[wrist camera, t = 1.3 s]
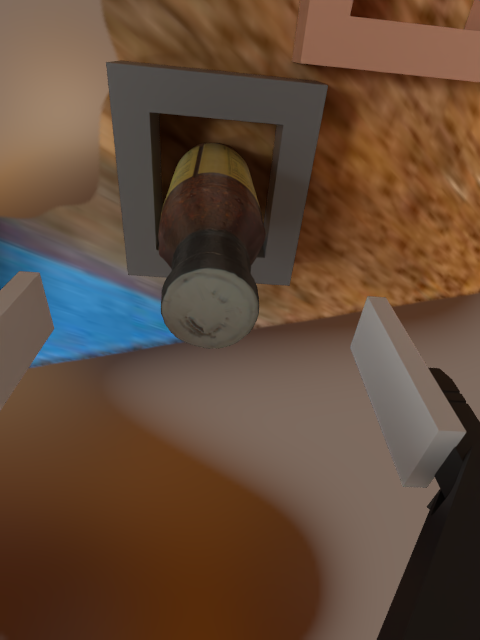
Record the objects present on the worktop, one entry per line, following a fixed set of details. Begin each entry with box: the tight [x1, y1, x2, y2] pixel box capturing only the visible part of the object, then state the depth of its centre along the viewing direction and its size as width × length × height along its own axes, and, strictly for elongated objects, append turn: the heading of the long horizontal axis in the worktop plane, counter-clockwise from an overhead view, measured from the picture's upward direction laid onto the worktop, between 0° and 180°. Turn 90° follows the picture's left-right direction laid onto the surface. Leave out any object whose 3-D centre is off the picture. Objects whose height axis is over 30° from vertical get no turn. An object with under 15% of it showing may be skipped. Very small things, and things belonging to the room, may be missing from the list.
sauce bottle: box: [158, 143, 266, 349], centre depth 23 cm, size 6×6×20 cm
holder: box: [106, 61, 328, 286], centre depth 29 cm, size 14×15×4 cm
